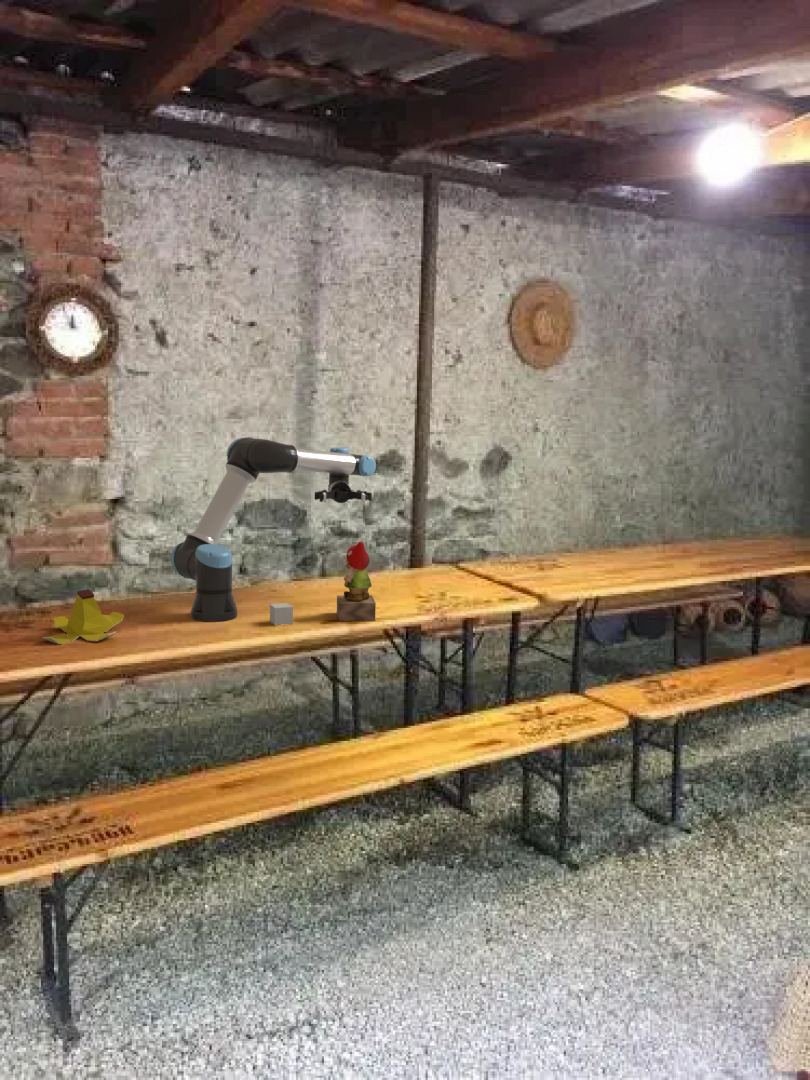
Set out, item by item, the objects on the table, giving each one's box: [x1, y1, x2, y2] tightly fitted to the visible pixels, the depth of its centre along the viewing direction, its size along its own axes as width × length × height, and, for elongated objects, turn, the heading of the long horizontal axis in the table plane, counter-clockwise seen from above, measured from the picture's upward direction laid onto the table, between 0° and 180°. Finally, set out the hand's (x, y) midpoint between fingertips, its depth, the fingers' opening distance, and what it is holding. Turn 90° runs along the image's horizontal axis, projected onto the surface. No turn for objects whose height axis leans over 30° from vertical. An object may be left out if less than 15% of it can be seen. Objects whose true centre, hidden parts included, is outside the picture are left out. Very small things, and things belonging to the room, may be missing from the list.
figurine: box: [343, 540, 373, 601], centre depth 327 cm, size 11×9×20 cm
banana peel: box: [41, 589, 125, 645], centre depth 298 cm, size 25×27×15 cm
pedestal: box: [336, 594, 377, 622], centre depth 330 cm, size 12×12×6 cm
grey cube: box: [269, 602, 294, 626], centre depth 318 cm, size 6×6×6 cm
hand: (344, 498), depth 340 cm, fingers open, 13 cm apart
